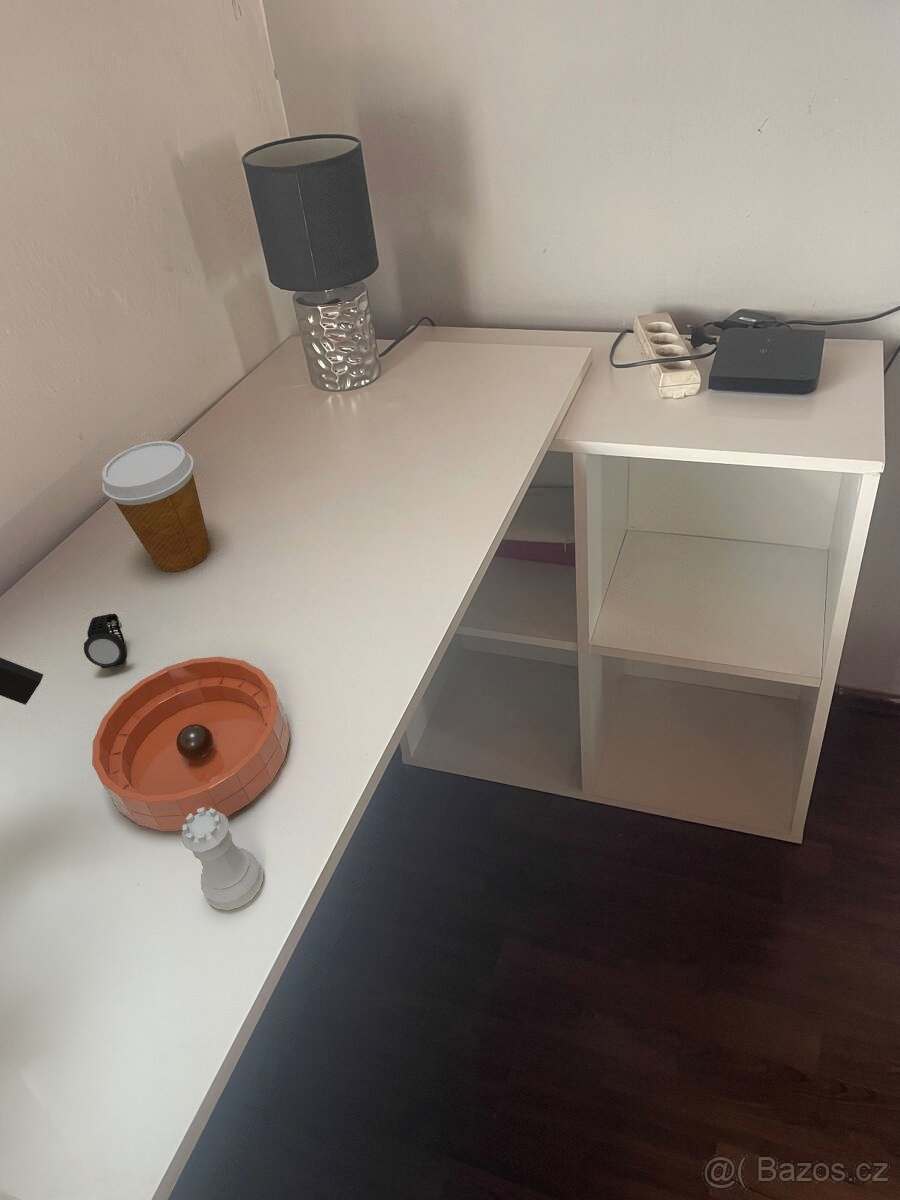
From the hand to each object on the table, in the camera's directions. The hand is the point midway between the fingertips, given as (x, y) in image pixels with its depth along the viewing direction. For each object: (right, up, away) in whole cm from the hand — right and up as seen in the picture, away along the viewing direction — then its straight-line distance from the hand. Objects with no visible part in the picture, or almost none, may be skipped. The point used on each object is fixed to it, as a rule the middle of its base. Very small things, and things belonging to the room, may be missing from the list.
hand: (2, 769), depth 54 cm
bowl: (+7, -3, +20) cm, 21 cm away
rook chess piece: (+12, -11, +10) cm, 19 cm away
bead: (+7, -1, +18) cm, 19 cm away
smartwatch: (-4, +5, +31) cm, 31 cm away
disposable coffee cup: (-2, +16, +43) cm, 45 cm away
